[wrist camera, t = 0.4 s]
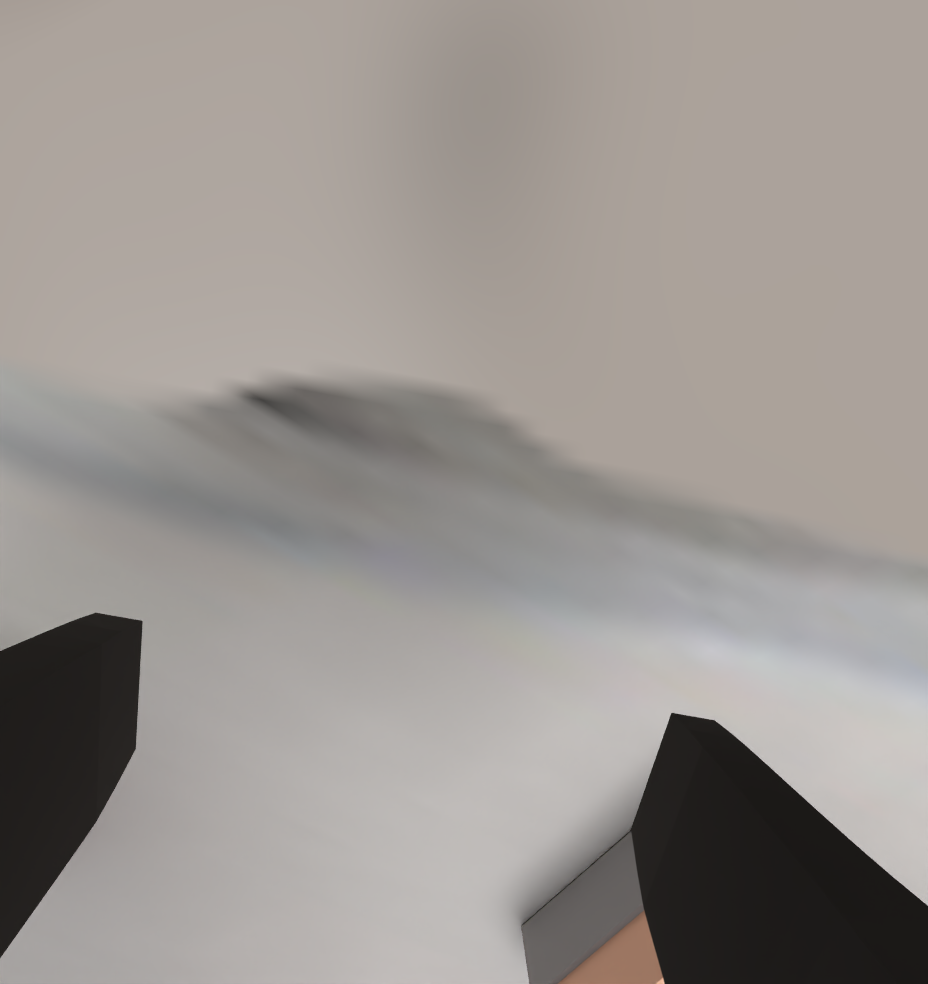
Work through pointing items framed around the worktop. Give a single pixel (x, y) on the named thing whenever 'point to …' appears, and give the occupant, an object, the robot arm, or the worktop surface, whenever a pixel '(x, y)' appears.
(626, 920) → the housing
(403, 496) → the worktop surface
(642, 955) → the cover
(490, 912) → the worktop surface
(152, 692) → the worktop surface
